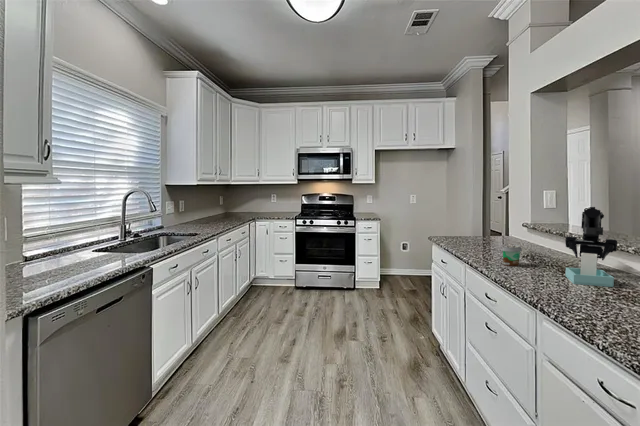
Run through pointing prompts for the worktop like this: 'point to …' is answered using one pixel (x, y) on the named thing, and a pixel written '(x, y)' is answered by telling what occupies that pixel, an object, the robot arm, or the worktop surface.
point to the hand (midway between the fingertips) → (589, 258)
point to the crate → (589, 278)
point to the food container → (511, 255)
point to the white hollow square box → (588, 264)
